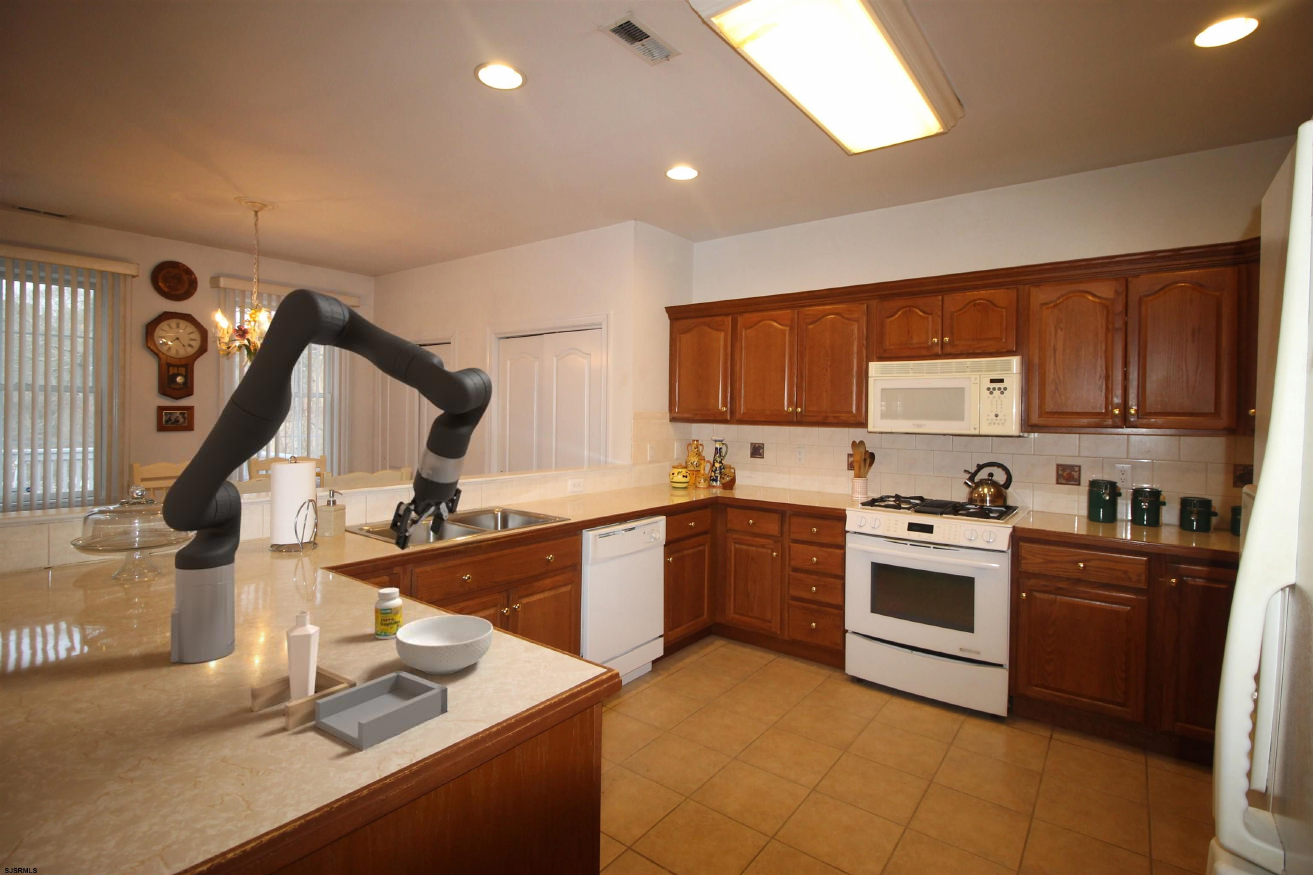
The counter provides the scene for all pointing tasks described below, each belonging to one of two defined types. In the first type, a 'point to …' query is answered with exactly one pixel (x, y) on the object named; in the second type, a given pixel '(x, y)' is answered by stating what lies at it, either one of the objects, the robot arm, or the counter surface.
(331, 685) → the oak holder
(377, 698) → the grey tray
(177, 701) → the counter surface
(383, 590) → the supplement bottle
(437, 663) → the cereal bowl
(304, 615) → the white faceted bottle
